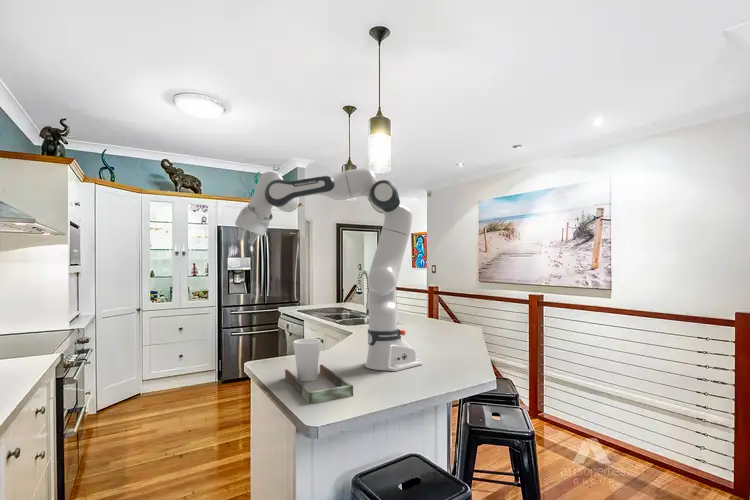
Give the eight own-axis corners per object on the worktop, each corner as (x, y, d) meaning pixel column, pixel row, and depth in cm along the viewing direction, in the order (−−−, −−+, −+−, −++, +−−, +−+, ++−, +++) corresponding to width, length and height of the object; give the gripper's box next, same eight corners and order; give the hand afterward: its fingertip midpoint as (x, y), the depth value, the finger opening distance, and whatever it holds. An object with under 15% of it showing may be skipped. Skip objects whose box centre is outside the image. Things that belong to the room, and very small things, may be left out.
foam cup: (322, 381, 129) (322, 342, 129) (294, 383, 126) (294, 344, 127) (318, 373, 138) (318, 337, 138) (292, 375, 135) (292, 339, 136)
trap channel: (321, 372, 139) (321, 364, 139) (353, 395, 114) (353, 385, 114) (285, 378, 132) (285, 369, 132) (309, 403, 107) (309, 393, 108)
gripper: (254, 206, 141) (239, 240, 140) (274, 217, 161) (262, 247, 160) (239, 200, 142) (225, 234, 141) (261, 213, 162) (249, 242, 161)
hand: (245, 241), depth 150 cm, fingers open, 8 cm apart
